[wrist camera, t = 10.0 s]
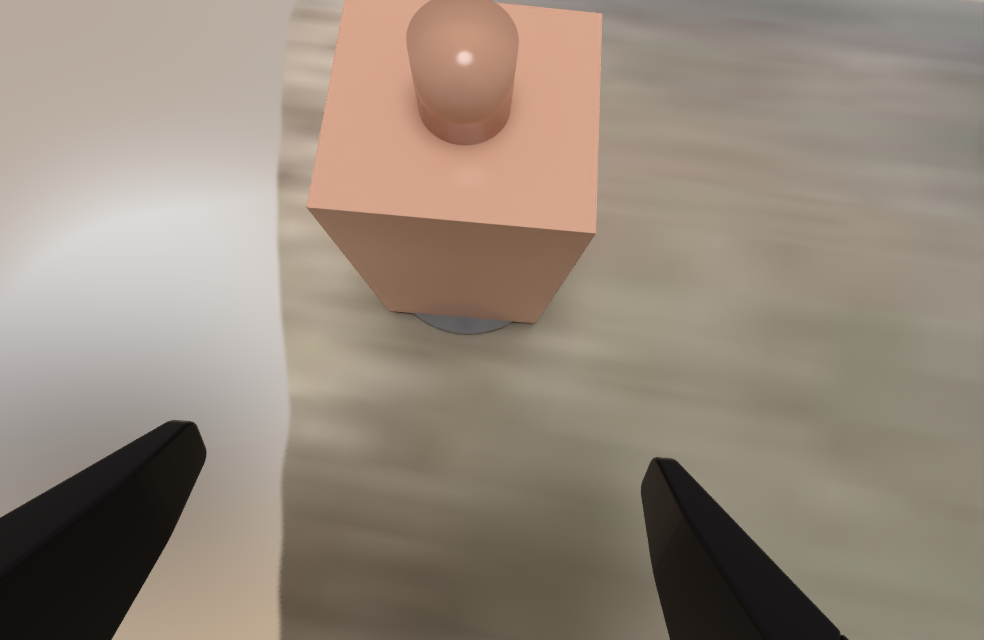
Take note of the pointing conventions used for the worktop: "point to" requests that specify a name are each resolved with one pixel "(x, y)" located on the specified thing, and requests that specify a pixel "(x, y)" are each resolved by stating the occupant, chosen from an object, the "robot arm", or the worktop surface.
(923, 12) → the worktop surface
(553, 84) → the pink square bottle
